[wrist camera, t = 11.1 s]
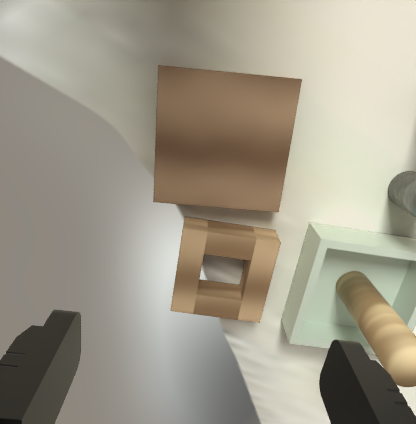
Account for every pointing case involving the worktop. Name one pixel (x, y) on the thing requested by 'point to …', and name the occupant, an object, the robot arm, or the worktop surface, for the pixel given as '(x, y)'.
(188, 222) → the holder block
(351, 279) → the dowel
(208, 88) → the plate
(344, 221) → the worktop surface
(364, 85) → the worktop surface
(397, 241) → the tray
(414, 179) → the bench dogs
